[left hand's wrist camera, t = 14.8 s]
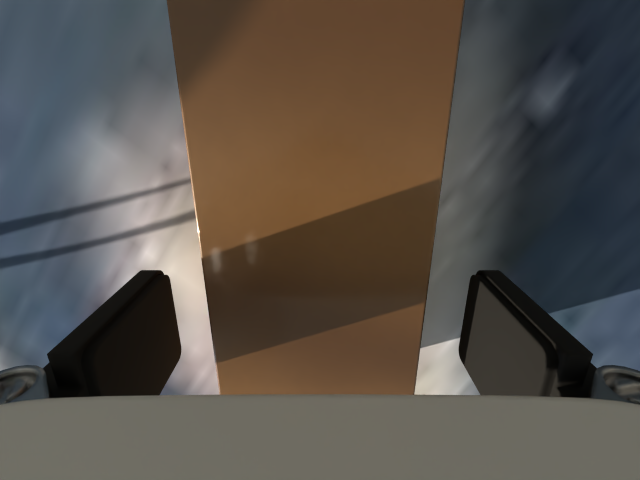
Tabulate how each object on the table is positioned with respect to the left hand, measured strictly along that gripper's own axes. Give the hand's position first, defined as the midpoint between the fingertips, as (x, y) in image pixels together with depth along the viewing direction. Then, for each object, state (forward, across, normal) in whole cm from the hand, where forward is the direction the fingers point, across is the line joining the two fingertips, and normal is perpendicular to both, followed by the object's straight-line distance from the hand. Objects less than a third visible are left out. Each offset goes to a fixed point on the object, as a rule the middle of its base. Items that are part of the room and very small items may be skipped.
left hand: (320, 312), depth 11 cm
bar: (+7, 0, -22) cm, 23 cm away
